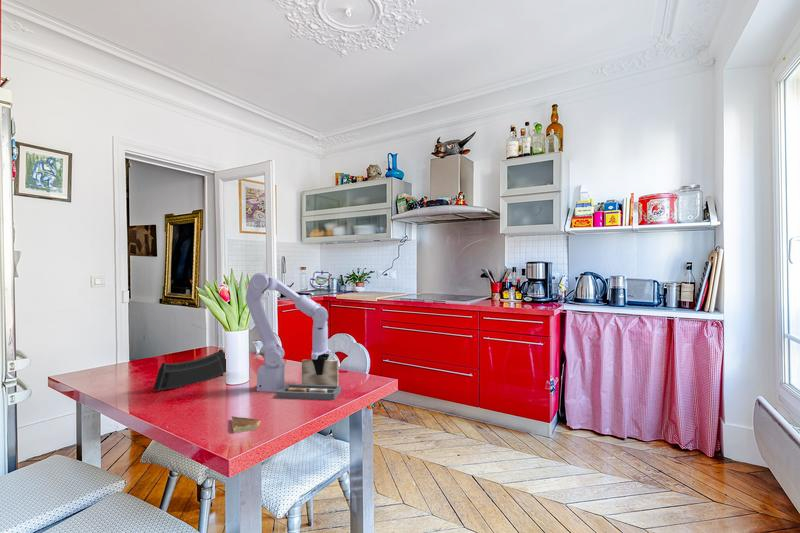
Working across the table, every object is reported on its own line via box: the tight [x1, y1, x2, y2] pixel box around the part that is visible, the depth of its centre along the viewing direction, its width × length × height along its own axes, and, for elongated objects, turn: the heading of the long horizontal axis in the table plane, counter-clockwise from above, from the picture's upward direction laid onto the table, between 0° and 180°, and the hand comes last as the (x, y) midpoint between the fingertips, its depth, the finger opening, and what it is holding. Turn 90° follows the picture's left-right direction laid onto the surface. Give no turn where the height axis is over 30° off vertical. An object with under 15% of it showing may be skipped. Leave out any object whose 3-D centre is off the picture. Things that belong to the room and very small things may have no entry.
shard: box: [231, 416, 261, 434], centre depth 111 cm, size 11×8×2 cm
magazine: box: [153, 349, 227, 391], centre depth 152 cm, size 17×3×30 cm
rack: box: [277, 383, 342, 401], centre depth 136 cm, size 20×10×3 cm, turn 84°
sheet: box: [301, 359, 340, 386], centre depth 147 cm, size 14×2×10 cm, turn 84°
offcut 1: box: [288, 388, 307, 392], centre depth 134 cm, size 6×2×2 cm, turn 84°
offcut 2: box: [309, 388, 327, 393], centre depth 133 cm, size 6×2×2 cm, turn 84°
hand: (320, 374), depth 147 cm, fingers closed on sheet, 1 cm apart
